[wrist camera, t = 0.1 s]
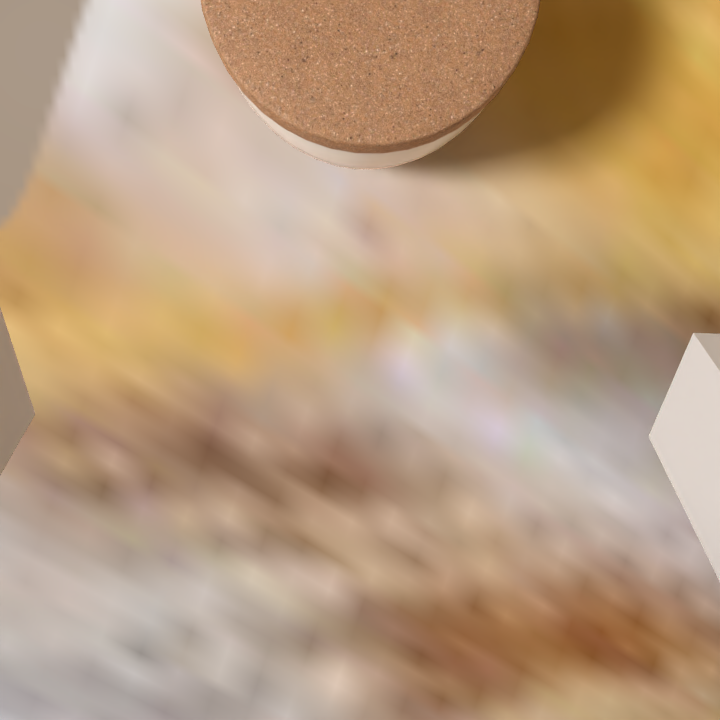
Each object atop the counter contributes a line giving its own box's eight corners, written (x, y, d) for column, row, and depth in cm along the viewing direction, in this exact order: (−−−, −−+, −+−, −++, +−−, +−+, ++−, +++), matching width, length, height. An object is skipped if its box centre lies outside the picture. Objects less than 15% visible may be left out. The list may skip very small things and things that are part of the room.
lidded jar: (246, 208, 28) (200, 141, 19) (225, -50, 28) (168, -247, 19) (497, 190, 29) (574, 115, 19) (479, -65, 28) (549, -267, 19)
